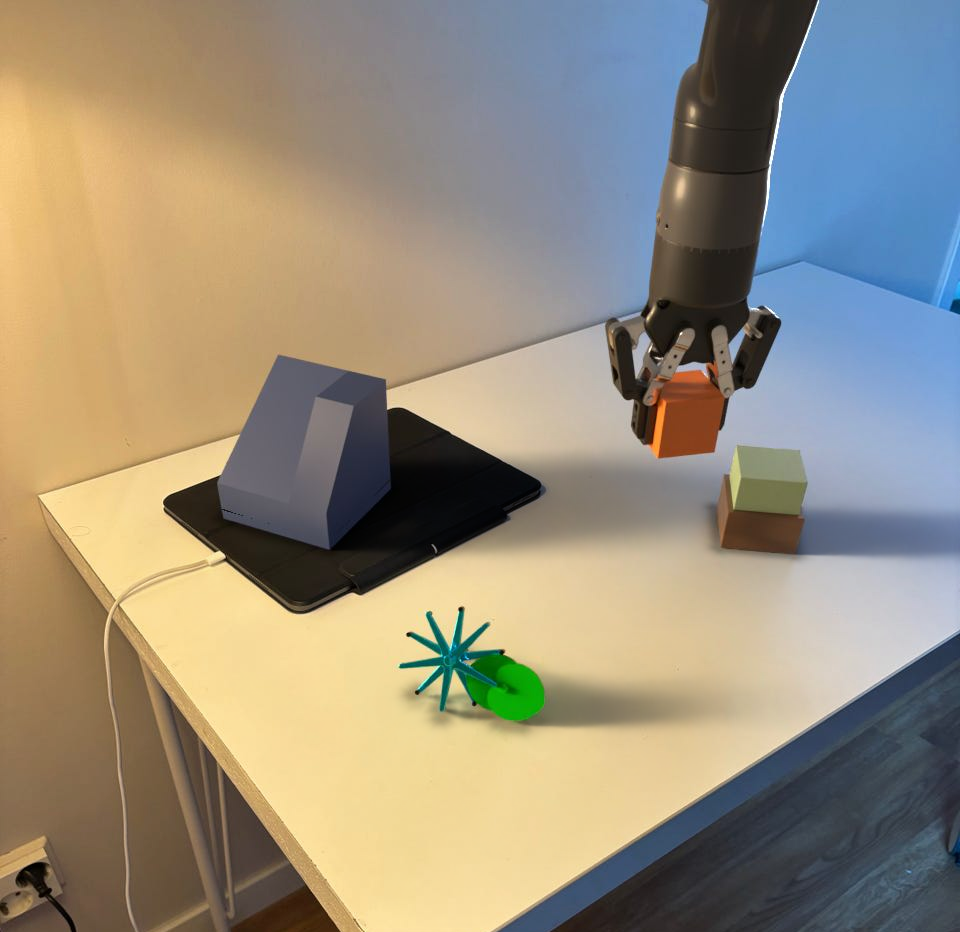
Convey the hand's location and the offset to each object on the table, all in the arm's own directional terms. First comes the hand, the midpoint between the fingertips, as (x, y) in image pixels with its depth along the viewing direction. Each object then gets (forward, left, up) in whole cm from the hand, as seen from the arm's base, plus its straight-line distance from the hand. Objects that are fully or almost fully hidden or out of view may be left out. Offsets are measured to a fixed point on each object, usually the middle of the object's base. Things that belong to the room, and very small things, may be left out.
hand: (676, 436), depth 82 cm
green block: (-10, -8, -10) cm, 16 cm away
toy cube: (0, 0, 0) cm, 0 cm away
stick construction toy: (+14, +18, -14) cm, 27 cm away
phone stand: (+34, -6, -14) cm, 37 cm away
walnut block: (-10, -8, -14) cm, 19 cm away
